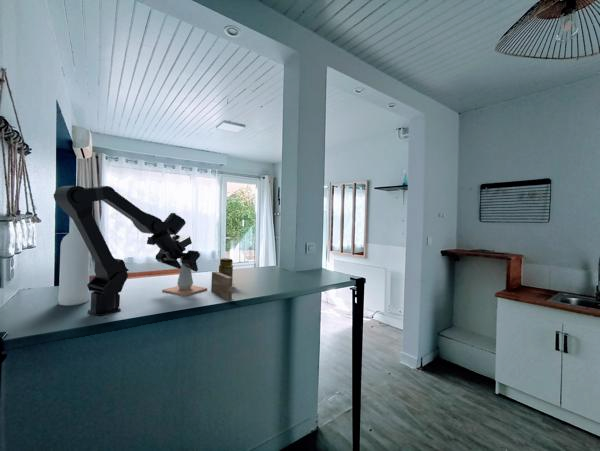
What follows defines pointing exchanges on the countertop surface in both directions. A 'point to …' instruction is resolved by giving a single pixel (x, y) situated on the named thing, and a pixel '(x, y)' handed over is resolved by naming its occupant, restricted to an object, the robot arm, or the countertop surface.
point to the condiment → (226, 267)
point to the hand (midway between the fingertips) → (188, 269)
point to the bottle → (73, 268)
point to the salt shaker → (185, 278)
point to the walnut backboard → (222, 285)
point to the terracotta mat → (184, 292)
